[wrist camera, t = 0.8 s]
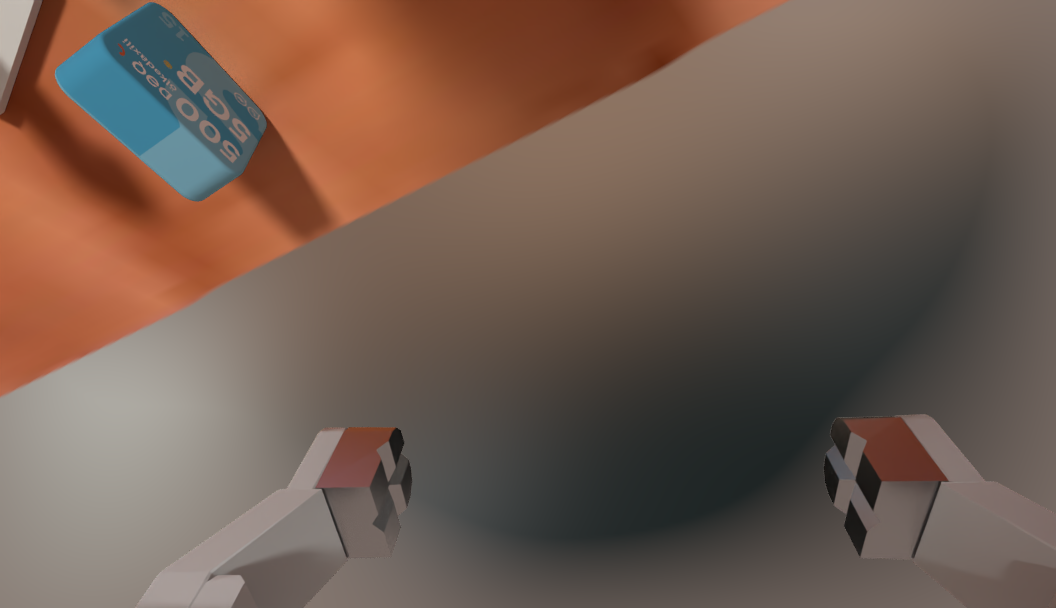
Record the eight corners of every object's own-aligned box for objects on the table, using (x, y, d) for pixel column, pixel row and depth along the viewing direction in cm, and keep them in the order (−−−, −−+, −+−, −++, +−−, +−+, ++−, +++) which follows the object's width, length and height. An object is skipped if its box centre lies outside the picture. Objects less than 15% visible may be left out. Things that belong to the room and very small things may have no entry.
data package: (271, 120, 53) (240, 181, 44) (234, 145, 54) (196, 210, 45) (157, -4, 46) (91, 38, 37) (117, 28, 47) (43, 76, 38)
